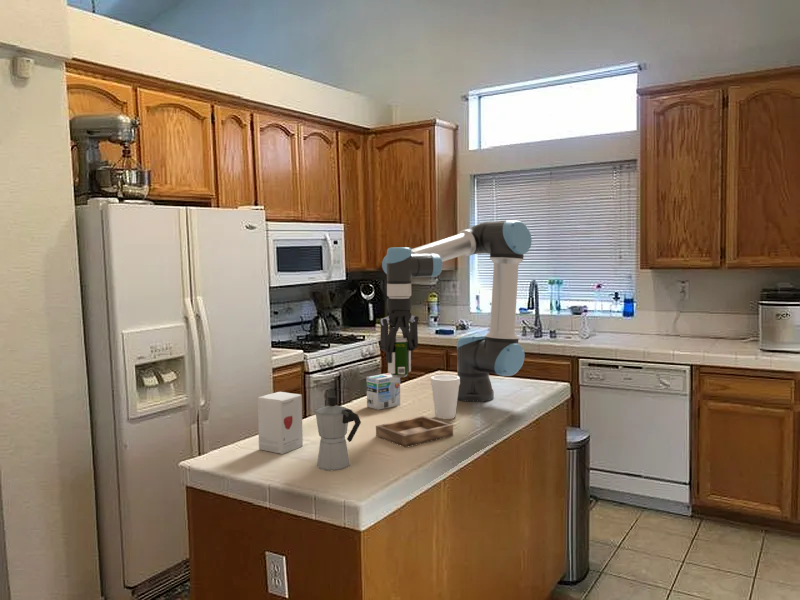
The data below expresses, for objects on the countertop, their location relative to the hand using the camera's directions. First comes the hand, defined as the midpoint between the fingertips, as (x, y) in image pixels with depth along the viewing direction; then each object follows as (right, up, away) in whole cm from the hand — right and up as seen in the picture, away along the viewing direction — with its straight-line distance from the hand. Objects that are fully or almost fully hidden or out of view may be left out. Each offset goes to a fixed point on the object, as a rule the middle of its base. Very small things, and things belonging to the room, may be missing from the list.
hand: (399, 371), depth 205 cm
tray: (+4, -18, -9) cm, 21 cm away
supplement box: (-33, -20, -19) cm, 43 cm away
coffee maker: (-16, -21, -35) cm, 44 cm away
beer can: (0, -2, 0) cm, 1 cm away
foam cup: (+15, -16, +13) cm, 26 cm away
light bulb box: (-6, -15, +28) cm, 32 cm away
